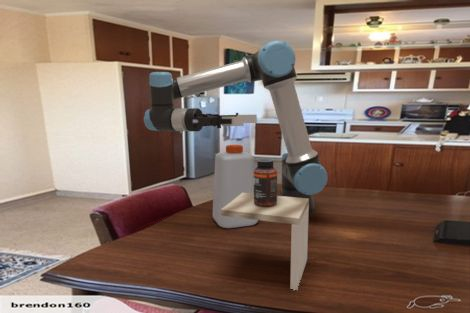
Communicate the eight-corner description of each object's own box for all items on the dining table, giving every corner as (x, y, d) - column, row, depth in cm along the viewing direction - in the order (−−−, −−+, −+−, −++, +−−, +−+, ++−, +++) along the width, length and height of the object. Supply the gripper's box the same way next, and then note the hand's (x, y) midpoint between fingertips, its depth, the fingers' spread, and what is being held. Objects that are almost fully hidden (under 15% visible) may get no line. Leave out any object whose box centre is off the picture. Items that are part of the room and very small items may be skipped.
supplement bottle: (279, 201, 85) (279, 158, 83) (274, 208, 79) (275, 162, 78) (256, 199, 87) (257, 157, 85) (250, 206, 81) (250, 161, 79)
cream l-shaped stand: (222, 276, 82) (220, 209, 79) (242, 249, 96) (242, 192, 94) (297, 290, 75) (298, 218, 72) (307, 259, 90) (308, 198, 87)
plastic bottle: (210, 216, 125) (208, 144, 121) (247, 212, 130) (246, 142, 125) (220, 230, 111) (219, 149, 106) (261, 225, 116) (262, 147, 111)
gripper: (205, 128, 119) (261, 128, 112) (169, 135, 96) (236, 136, 89) (204, 107, 118) (260, 106, 111) (167, 109, 95) (236, 108, 88)
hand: (250, 119), depth 100 cm, fingers open, 13 cm apart
